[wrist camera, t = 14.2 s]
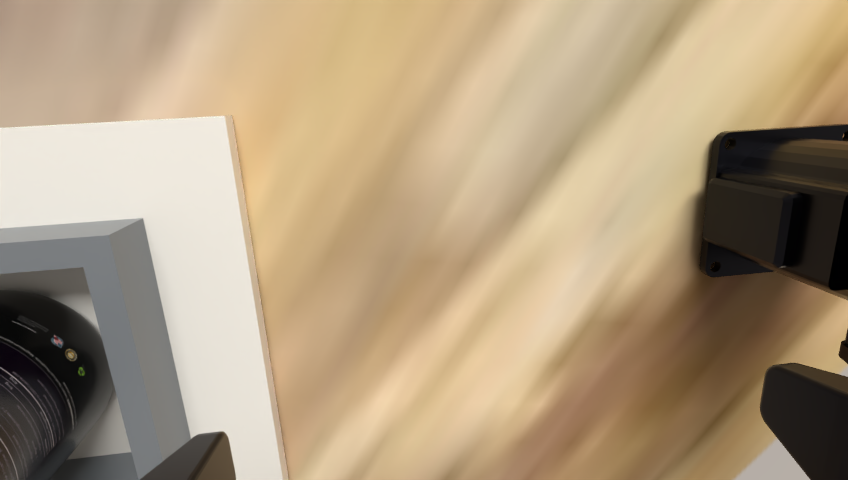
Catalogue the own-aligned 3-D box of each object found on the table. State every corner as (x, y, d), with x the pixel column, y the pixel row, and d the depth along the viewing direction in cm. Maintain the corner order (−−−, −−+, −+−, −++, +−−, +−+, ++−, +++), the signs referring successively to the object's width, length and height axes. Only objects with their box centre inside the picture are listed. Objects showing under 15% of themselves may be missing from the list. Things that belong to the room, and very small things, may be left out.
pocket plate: (232, 115, 18) (202, 117, 15) (292, 500, 23) (279, 567, 20) (-312, 144, 16) (-486, 154, 13) (-121, 555, 21) (-212, 639, 18)
